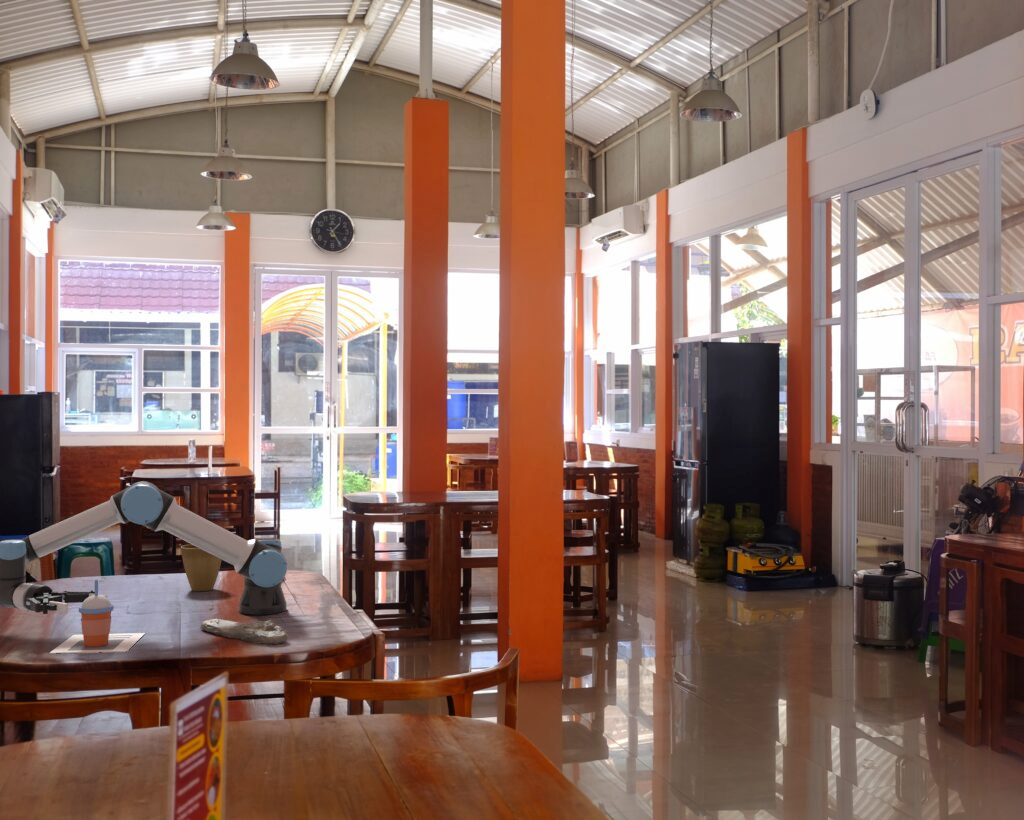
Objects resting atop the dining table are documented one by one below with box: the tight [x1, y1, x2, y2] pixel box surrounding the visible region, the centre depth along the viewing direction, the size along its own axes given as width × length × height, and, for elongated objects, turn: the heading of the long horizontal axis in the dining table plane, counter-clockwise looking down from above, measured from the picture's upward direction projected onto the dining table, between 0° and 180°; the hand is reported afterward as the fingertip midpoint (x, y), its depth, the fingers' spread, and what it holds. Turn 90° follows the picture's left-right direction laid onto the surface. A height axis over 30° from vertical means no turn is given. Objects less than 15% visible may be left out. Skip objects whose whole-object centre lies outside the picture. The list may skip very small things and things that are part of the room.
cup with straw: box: [78, 579, 115, 647], centre depth 289 cm, size 9×9×18 cm
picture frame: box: [49, 632, 146, 655], centre depth 292 cm, size 20×22×1 cm
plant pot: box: [180, 544, 223, 592], centre depth 377 cm, size 15×15×16 cm
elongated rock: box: [200, 618, 289, 645], centre depth 303 cm, size 35×5×10 cm
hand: (86, 604), depth 290 cm, fingers open, 13 cm apart
